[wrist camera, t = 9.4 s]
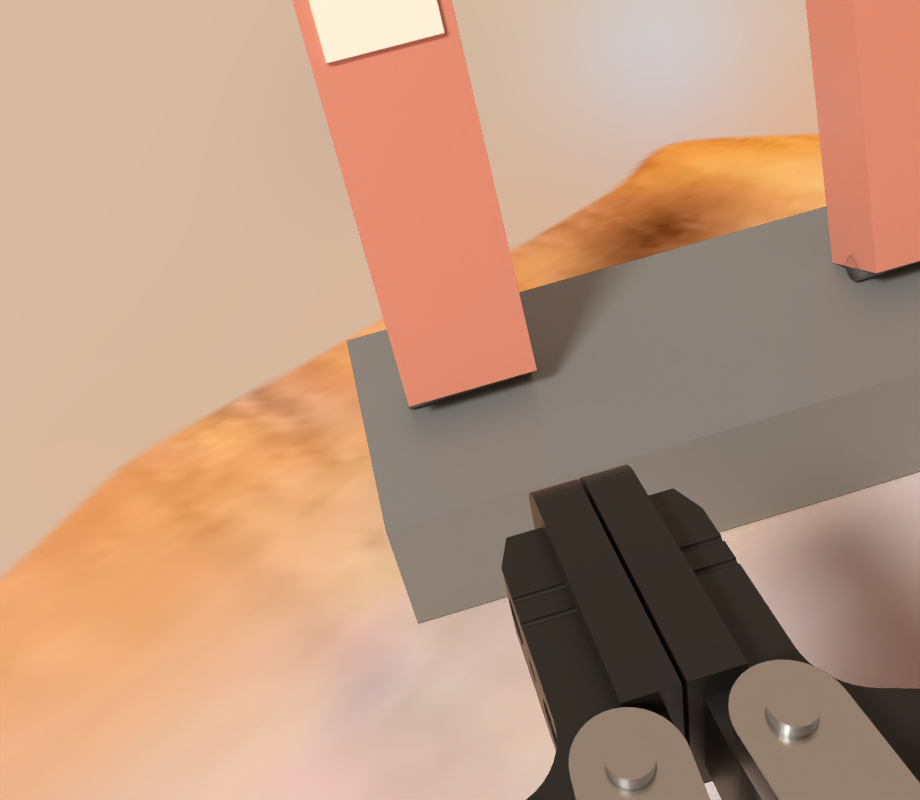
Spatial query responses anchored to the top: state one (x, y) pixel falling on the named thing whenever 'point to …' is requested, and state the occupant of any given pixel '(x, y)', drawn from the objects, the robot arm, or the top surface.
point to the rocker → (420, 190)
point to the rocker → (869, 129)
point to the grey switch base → (656, 400)
